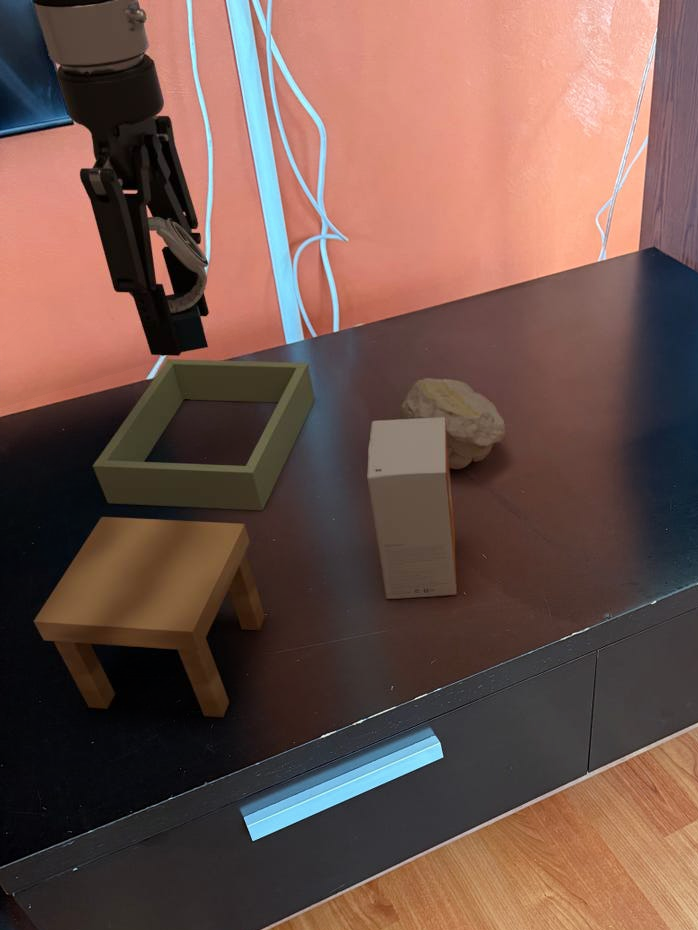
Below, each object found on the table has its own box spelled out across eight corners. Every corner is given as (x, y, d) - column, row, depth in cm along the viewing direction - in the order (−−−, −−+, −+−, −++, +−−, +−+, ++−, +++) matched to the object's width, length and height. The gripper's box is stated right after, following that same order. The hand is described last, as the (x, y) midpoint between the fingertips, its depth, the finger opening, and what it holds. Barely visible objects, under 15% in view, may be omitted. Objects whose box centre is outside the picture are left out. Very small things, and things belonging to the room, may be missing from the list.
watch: (229, 343, 90) (199, 225, 82) (142, 359, 88) (104, 242, 80) (220, 316, 94) (192, 202, 86) (137, 332, 92) (100, 217, 84)
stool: (81, 711, 75) (32, 621, 68) (139, 606, 83) (101, 516, 76) (226, 722, 74) (192, 631, 66) (270, 614, 82) (244, 523, 75)
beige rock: (442, 412, 103) (382, 464, 98) (426, 343, 97) (362, 395, 92) (533, 439, 97) (474, 496, 92) (522, 367, 91) (459, 424, 86)
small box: (458, 596, 82) (447, 472, 73) (385, 600, 82) (364, 477, 73) (456, 536, 88) (446, 414, 78) (388, 540, 88) (369, 419, 79)
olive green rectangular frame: (107, 503, 94) (92, 465, 91) (179, 394, 108) (167, 358, 105) (262, 510, 92) (252, 472, 89) (315, 399, 106) (308, 362, 103)
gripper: (96, 100, 67) (182, 389, 83) (192, 25, 80) (250, 286, 97) (-3, 100, 68) (101, 386, 84) (109, 26, 81) (180, 284, 98)
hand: (180, 332), depth 91 cm, fingers closed on watch, 7 cm apart
